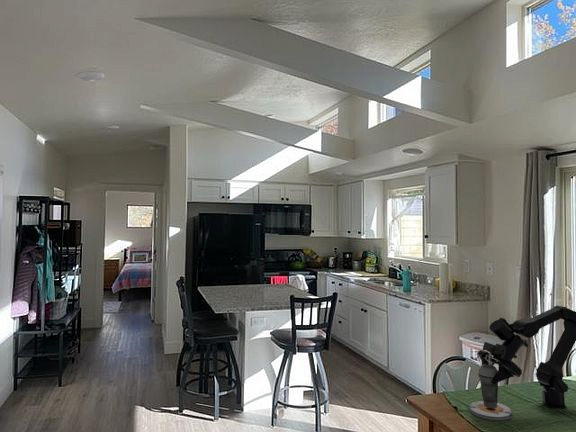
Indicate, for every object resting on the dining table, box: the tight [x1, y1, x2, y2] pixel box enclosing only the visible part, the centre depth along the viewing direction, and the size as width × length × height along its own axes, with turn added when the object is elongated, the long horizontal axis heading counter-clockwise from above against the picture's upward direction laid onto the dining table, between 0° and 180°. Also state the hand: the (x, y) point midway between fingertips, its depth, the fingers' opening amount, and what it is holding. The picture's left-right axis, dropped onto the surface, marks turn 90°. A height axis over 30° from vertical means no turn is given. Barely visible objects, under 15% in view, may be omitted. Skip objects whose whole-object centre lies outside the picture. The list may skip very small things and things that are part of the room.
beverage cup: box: [478, 352, 499, 408], centre depth 160 cm, size 7×7×20 cm
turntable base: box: [468, 405, 514, 422], centre depth 159 cm, size 15×15×1 cm
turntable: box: [469, 400, 512, 418], centre depth 159 cm, size 14×14×1 cm
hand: (485, 380), depth 160 cm, fingers closed on beverage cup, 7 cm apart
